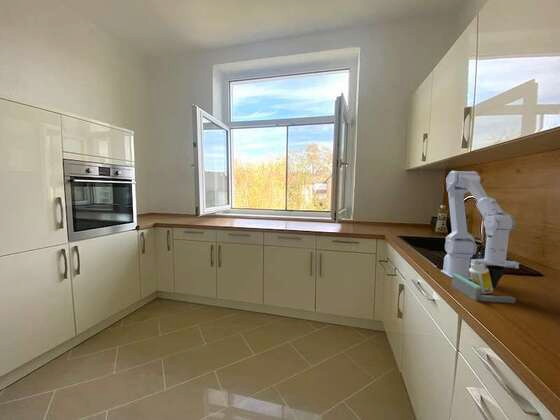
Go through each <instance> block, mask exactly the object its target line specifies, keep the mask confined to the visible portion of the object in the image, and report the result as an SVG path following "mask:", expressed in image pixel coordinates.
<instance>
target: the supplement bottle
mask: <svg viewBox="0 0 560 420" xmlns="http://www.w3.org/2000/svg"><path fill="white" fill-rule="evenodd" d="M469 277H471V280H470V281H471V282H473V283H475V284H476V285H478V286H480V287H482V288H481V295H487V294H491V293H492V292H493V291H494V288H493V287H492V282H491V278H490V273H489V269H488V268H487V267H485V264H481V263H478V264H477V265H473V264H471V262H470V267H469Z"/></svg>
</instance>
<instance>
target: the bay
mask: <svg viewBox="0 0 560 420" xmlns="http://www.w3.org/2000/svg"><path fill="white" fill-rule="evenodd" d="M451 287H453V288H454V289H456V290H458V291H459V292H461V293H463V294H464V295H465V296H467V297H469V298H470V299H472V300H474V301H475V302H491V303H507V304H515V303H516V297H513V296H505V295H489V294H488V295H487V294H481V288H482V287H480V286H478V285H476V284H475V283H473V282H472V281H471V280H467V279H465V278H463V277H462V276H460V275H458V274H453V275H452V278H451Z"/></svg>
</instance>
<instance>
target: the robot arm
mask: <svg viewBox="0 0 560 420" xmlns="http://www.w3.org/2000/svg"><path fill="white" fill-rule="evenodd" d="M445 183H446V192H447V193H448V204H449V215H450V226H451V232H450V233H449V234H448V235H447V236H445V244H444V250H445V252H446V253H447V254H446V255H444V257H443V267H442V270H440V272H441V273H443V274H444V275H446V276H447V277H449V278H451V279H452V275H453V274H458V275H460V276H462V277H463V278H465V279H467V280H469V281H471V277H470V272H469V269H470V266H471V264H473V265H477V264H478V263H481V264H485V267H487V268H488V269H489V273H490V278H491V282H492V287H493V289H494V288H495V289H496V287H497V285H498V284H499V281H500V280H501V278H503V276H504V275H505V274H506V273H507V269H506V268H514V269H520V267H519V265H520V262H518V261H512V260H507V253H508V245H509V237H510V236H509V235H510V232H511V231H513V230H514V229H515V226H516V220H515V217H514V216H513V215H512V214H509V213H507V212H504V211H503V209H502V208H501V207H500V205H499V204H498V203H497V199H496V198H494V197H489V196H488V194H487V193H486V191H485V189H484V188H483V185H482V184H481V176H480V175H479V173H478V172H476V171H472V170H471V171H464V170H463V171H461V170H460V171H459V170H451V171H450V172H449V173H448V175H447V176H446V178H445ZM467 193H469V194H471V196H472V197H473V198H474V200H476V204H475V205H476V208H477V210H478V211H479V212H480V214H481V216H482V218H483V219H484V221H483V227H484V228H485V231H484V233H485V235H486V240H485V250H484V257H483V258H475V259H473V255H475V254H476V253H477V244H476V242H475V236H473V235H472V234H470V233H469V232H468V224H467V217H466V216H467V215H466V209H465V199H464V198H465V197H464V196H465V194H467ZM470 263H471V264H470Z"/></svg>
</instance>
